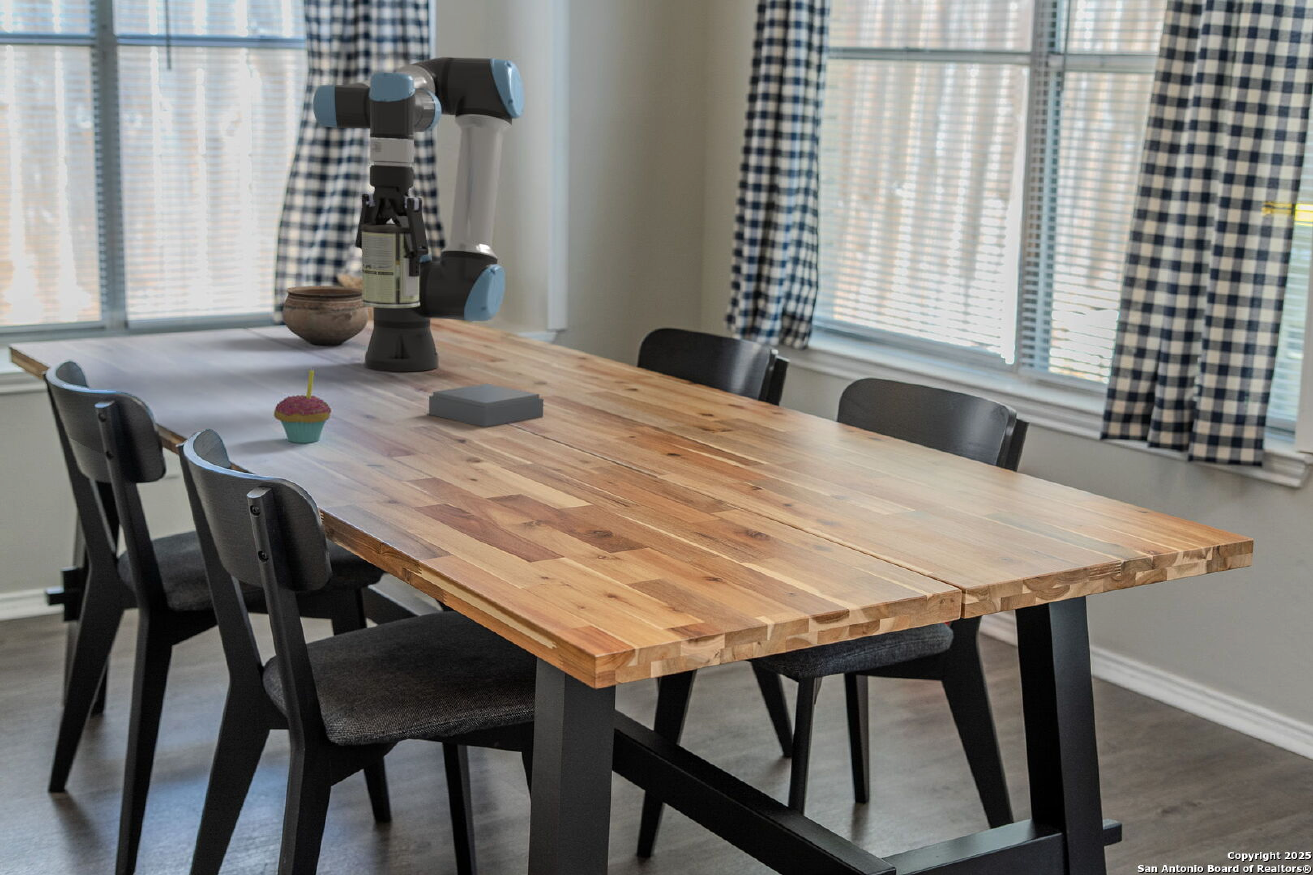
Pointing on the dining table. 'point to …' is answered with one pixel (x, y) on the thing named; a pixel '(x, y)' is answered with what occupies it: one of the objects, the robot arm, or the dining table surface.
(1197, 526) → the dining table surface
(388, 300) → the coffee can
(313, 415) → the cupcake
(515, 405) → the pedestal
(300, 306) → the cooking pot
